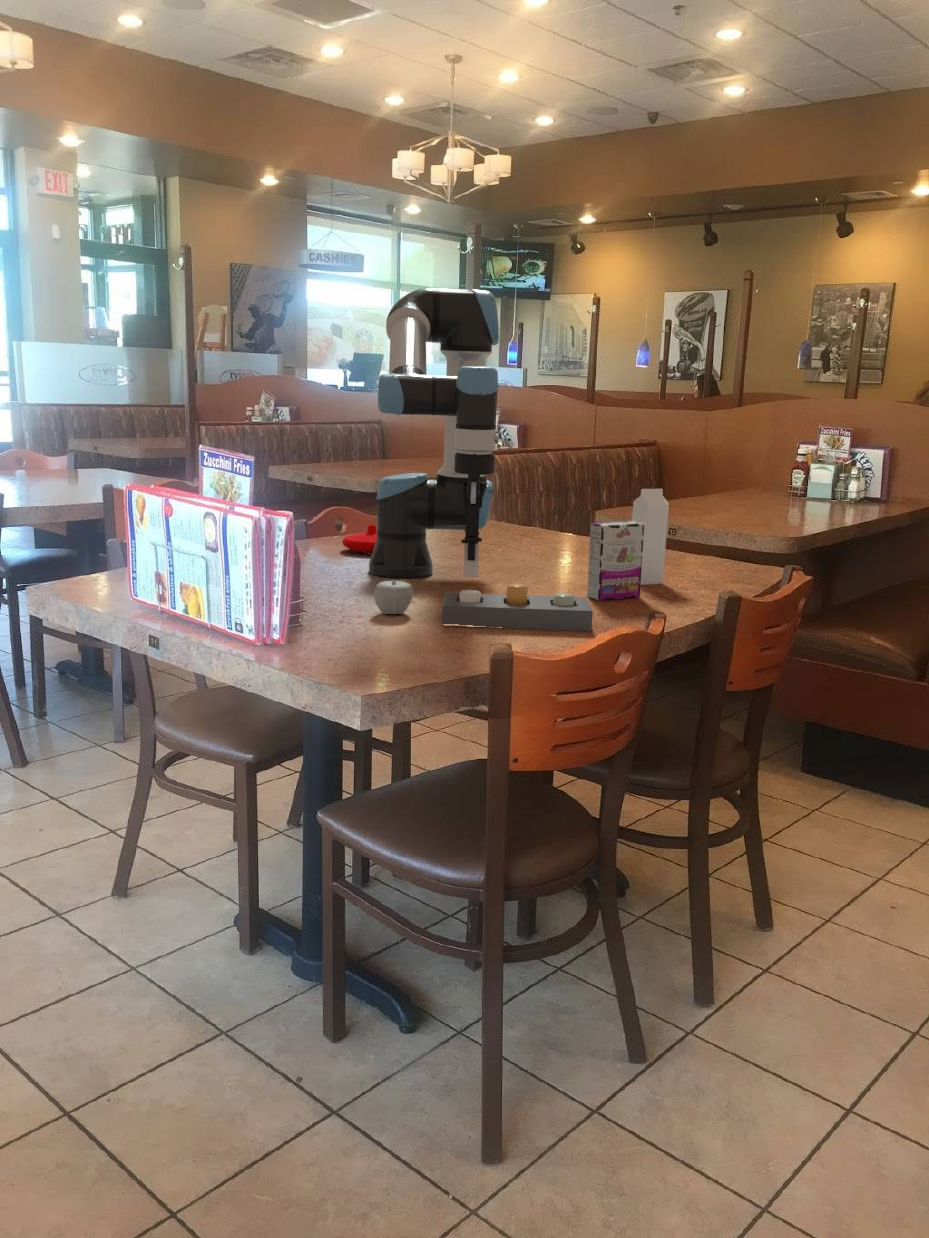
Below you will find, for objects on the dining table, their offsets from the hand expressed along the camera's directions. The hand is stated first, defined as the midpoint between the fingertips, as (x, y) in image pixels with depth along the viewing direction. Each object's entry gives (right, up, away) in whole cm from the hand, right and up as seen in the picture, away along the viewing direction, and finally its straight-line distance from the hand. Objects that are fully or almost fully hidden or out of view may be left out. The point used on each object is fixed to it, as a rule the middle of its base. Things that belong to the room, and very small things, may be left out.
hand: (470, 576), depth 192 cm
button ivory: (0, -7, +1) cm, 8 cm away
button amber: (+9, -6, +1) cm, 11 cm away
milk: (+42, 0, +45) cm, 61 cm away
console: (+9, -9, +2) cm, 12 cm away
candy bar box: (+31, -4, +27) cm, 41 cm away
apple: (-15, -7, +5) cm, 18 cm away
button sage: (+18, -8, +1) cm, 20 cm away
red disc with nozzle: (-26, +9, +74) cm, 79 cm away
